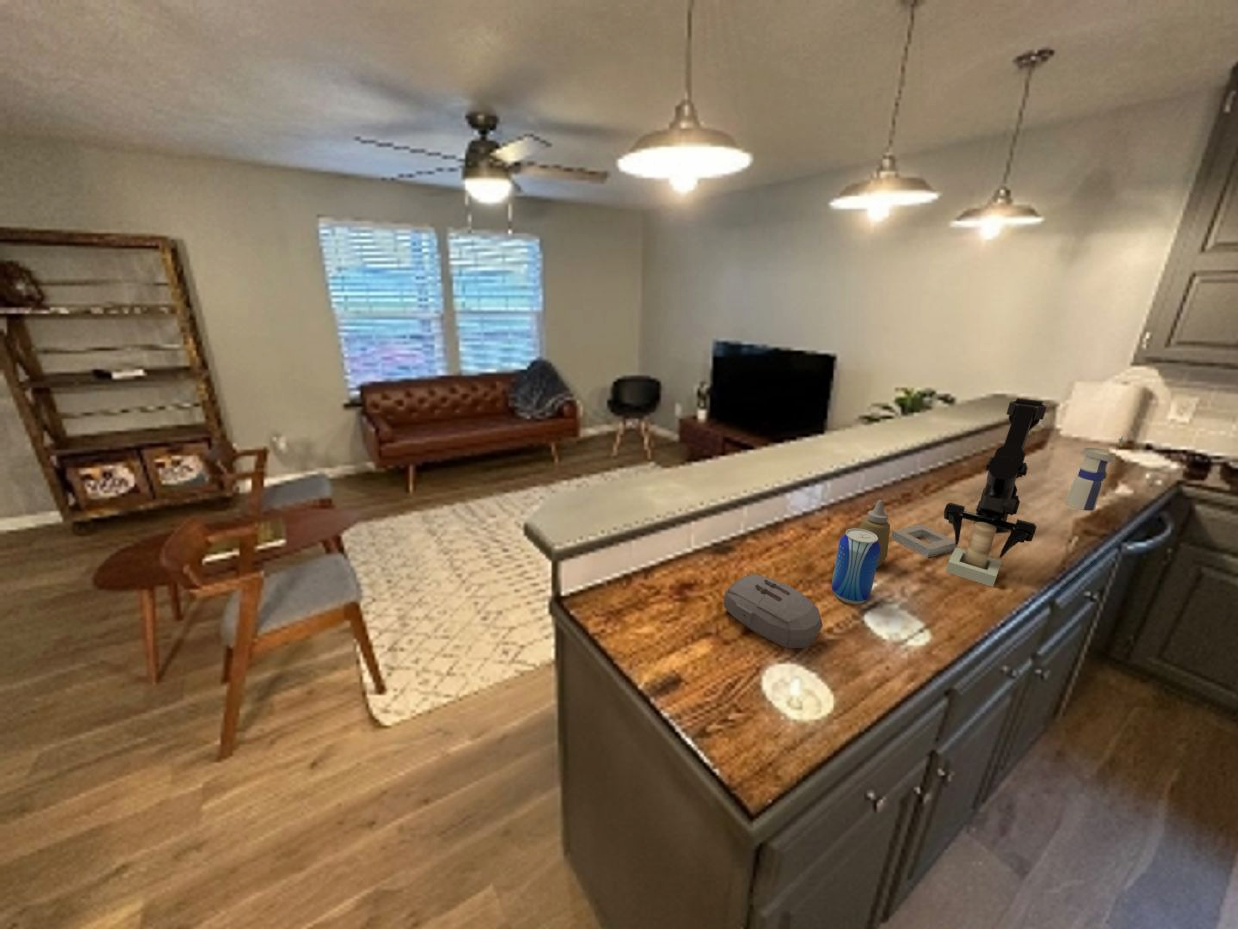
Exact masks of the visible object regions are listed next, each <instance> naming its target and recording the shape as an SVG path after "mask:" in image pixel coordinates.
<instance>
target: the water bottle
mask: <svg viewBox="0 0 1238 929" xmlns="http://www.w3.org/2000/svg"><path fill="white" fill-rule="evenodd" d="M1123 439H1124V436H1121V438H1118V444H1117V446H1120V448H1122V446H1123V443H1124V442H1125V441H1124V440H1123ZM1108 453H1109V452H1108V451H1107V450H1106V449H1103V448H1099V447H1098V448H1097V447H1084V448H1083V449H1082V450H1081V451H1080V454H1081V455H1083V456H1084V460H1083V462H1082V463H1081V464H1080V465H1078V466H1079V468H1080V469H1079V471H1078V474H1077V475H1076V477H1074V480H1073V482H1072V485H1071V488H1070V490H1069V493H1068V495H1067V497H1066V498H1065V501H1064V504H1065V505H1067V506H1069V507H1071V508H1073V509H1077V510H1081V511H1089V512H1090V511H1091V512H1092V511H1095V510H1096V508H1097V504H1098V502H1099V498H1100V496H1101V493H1102V490H1103V486H1104V480H1106V479H1107V478H1108V476H1109V473H1108V472H1109V470H1108V464H1109V463H1112V464H1113V463H1114V460H1115V457H1116V455H1117V454H1108Z"/></svg>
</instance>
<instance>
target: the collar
mask: <svg viewBox="0 0 1238 929" xmlns="http://www.w3.org/2000/svg"><path fill="white" fill-rule="evenodd" d="M966 552H967V549H963V548H960V547H957V548H955V550H954V551H952V554H951V555H950V557H949V560H948V562H947V565H946V570H945V573H948V574H951V575H954V576H957V577H960V578H963V579H966V580H969V581H972V582H975V583H979V584H981V583H982V585H984V584H985V585H984V586H989V587H992V588H994V586H995V582H996V580H997V577H998V576H997V575H998V574H999V570H1000V567H1001V564H1002V560H1000V559H997V558H994V557H990V556H988V559H987V562H986V565H985V568H984V569H982V568H979V567H975V566H972V565H969V564H966V563H963V562H964V559H965V555H966Z"/></svg>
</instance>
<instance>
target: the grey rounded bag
mask: <svg viewBox="0 0 1238 929" xmlns="http://www.w3.org/2000/svg"><path fill="white" fill-rule="evenodd" d="M723 607H724V608H725V610H726V611H727V612H728V613H729V614H730V615H731V616H733V618H735V619H736V620H737V622H739V623H741V624H742V625H744V626H745V627H746V628H747V627H748V628H747V629H749V630H750V631H751V632H753V633H755V634H757V635H759V636H761V637H762V638H764V639H767V641H771V642H773V643H775V644H777V645H779V646H780V647H781V646H782V647H783V648H785V649H803V648H805V647H808V646H811V645H812V644H813V642H814V641H815V639H816V638H817V636H818V635H819V633H820V632H821V630H822V628H823V626H824V625H823V622H822V618H821V614H820V611H819V608H818V607H817V606H816V605H815V603H814V602H812V601H811V600H810V598H808V597H807V595H804V594H803V593H802V592H800V591H798V590H797V589H795V588H793V587H792V586H790V585H789V584H788V585H787V584H786V583H783V582H780V581H778V580H777V579H773V578H769V577H766V576H763V575H759V574H755V573H751V574H748V575H745V576H743V577H741V578H739V579H738V580H737V581H735V582H734V583H732V584H731V586H730V587H729V588H728V589H727V591H726V592H725V594H724V598H723Z"/></svg>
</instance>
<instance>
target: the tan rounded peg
mask: <svg viewBox="0 0 1238 929" xmlns="http://www.w3.org/2000/svg"><path fill="white" fill-rule="evenodd" d="M996 529H997V528H996V527H995V526H993V525H991V524H988V523H984V522H976V523H975V524H974V523H973V527H972V531H971V534H970V538H969V542H968V545H967V549H966V550H967V552H966V555H965V559H964V562H963V563H966V564H969V565H972V566H975V567H979V568H982V569H984V568H985V565H986V562H987V559H988V557H989V555H990V551H991V548H992V546H993V542H994V539H995V535H996V533H997V532H996Z"/></svg>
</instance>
